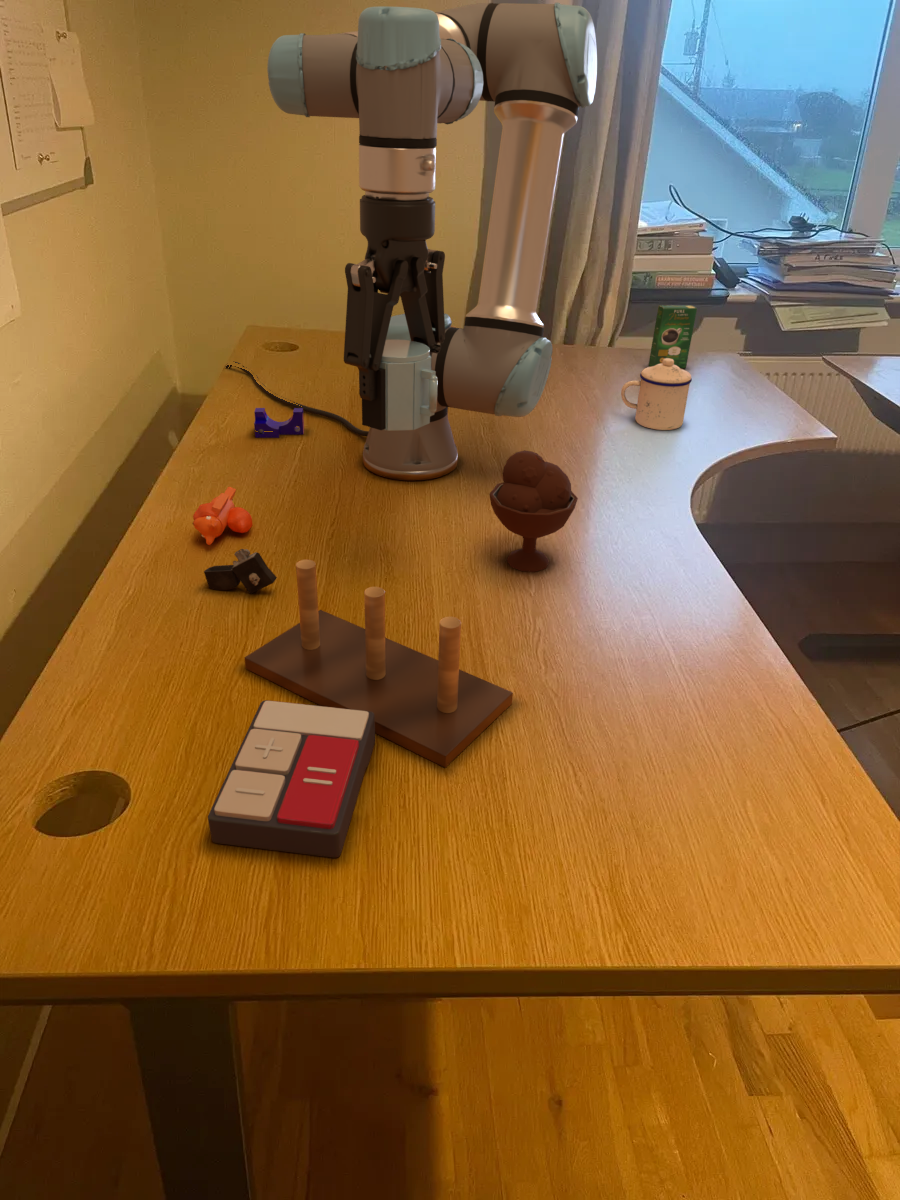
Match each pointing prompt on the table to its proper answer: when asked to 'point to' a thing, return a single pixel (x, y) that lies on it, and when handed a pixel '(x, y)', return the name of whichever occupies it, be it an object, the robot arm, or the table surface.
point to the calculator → (295, 779)
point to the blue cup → (408, 385)
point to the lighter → (241, 573)
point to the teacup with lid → (660, 396)
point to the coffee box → (672, 334)
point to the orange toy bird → (221, 517)
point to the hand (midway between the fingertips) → (396, 417)
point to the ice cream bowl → (532, 505)
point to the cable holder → (278, 424)
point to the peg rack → (381, 675)
